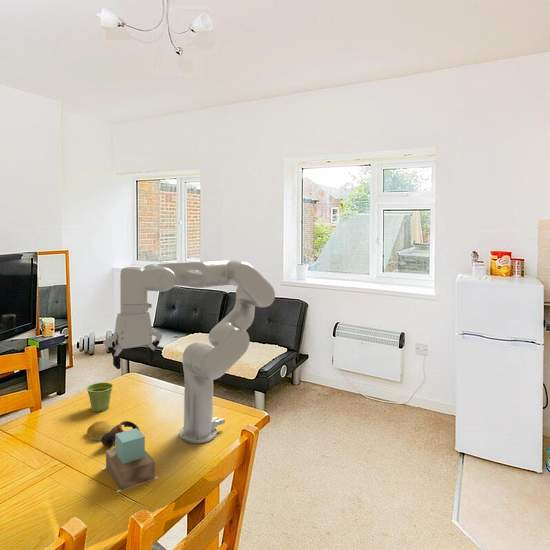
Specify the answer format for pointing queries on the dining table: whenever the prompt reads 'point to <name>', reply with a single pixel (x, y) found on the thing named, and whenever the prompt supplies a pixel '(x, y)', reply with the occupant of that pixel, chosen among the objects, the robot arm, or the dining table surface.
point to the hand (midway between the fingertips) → (133, 365)
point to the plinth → (130, 470)
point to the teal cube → (129, 445)
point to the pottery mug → (110, 436)
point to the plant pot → (99, 396)
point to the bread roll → (99, 430)
